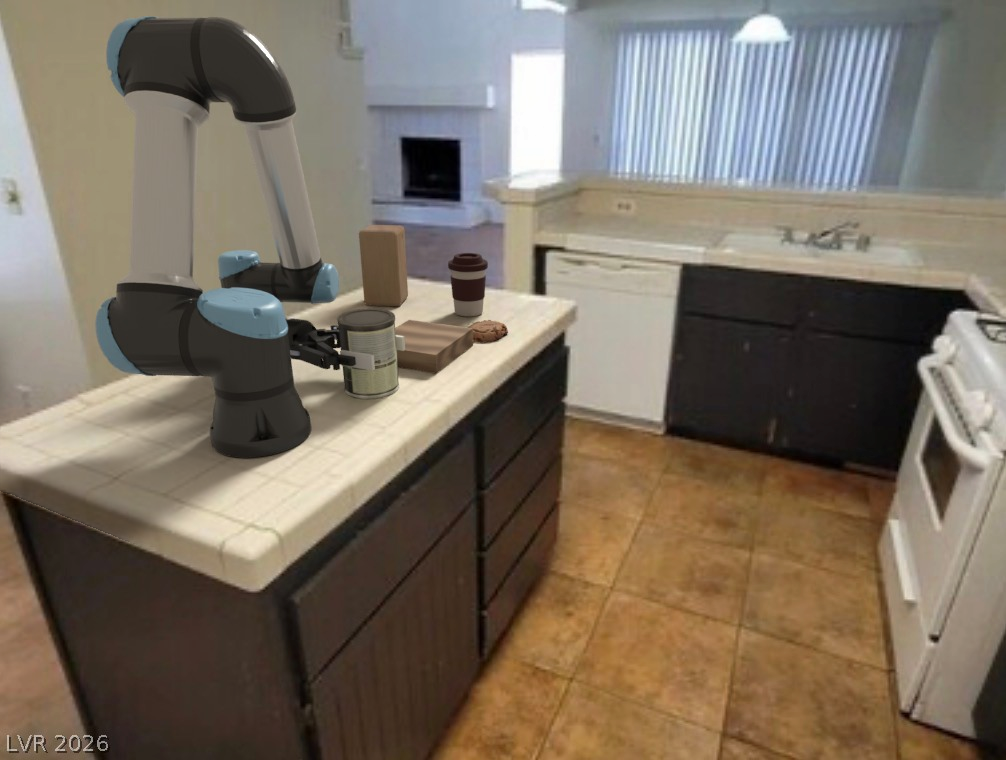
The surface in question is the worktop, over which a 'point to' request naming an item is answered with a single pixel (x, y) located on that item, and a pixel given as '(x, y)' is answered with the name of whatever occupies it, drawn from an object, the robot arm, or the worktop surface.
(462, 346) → the walnut base block
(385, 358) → the coffee can
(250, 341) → the robot arm
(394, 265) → the wooden block
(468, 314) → the coffee cup
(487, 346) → the worktop surface
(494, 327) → the cookie
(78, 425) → the worktop surface
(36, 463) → the worktop surface
